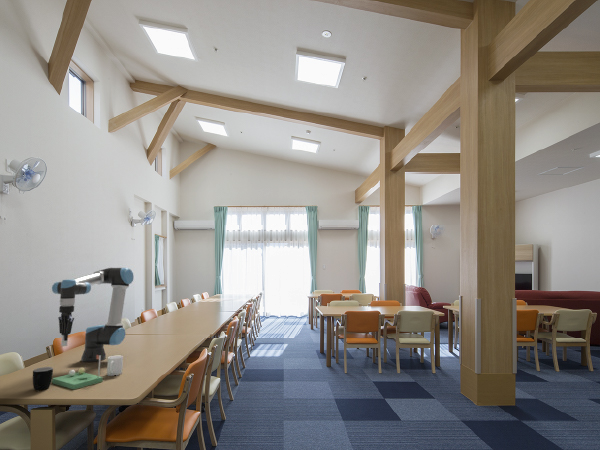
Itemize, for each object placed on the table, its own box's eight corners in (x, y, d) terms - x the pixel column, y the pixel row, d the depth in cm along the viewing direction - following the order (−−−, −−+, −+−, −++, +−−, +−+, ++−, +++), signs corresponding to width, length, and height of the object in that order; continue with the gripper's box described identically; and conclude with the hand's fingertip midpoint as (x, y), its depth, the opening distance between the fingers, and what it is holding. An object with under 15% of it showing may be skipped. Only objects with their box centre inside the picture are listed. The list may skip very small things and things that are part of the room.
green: (51, 383, 210) (53, 356, 212) (80, 375, 224) (82, 350, 226) (73, 389, 199) (75, 361, 201) (102, 381, 213) (103, 355, 215)
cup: (123, 371, 233) (124, 355, 234) (117, 377, 221) (118, 359, 222) (109, 372, 232) (110, 355, 233) (102, 378, 220) (103, 360, 221)
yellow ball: (76, 374, 219) (77, 368, 219) (82, 372, 222) (83, 366, 222) (80, 374, 217) (80, 368, 218) (85, 373, 220) (86, 367, 221)
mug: (35, 386, 204) (36, 367, 205) (54, 385, 206) (55, 366, 207) (26, 394, 192) (27, 373, 193) (46, 392, 195) (47, 372, 196)
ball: (67, 376, 214) (67, 370, 215) (73, 375, 217) (73, 368, 218) (70, 377, 213) (70, 371, 213) (76, 375, 216) (76, 369, 216)
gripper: (54, 305, 224) (51, 345, 222) (66, 306, 218) (63, 348, 215) (67, 304, 231) (64, 343, 228) (79, 305, 224) (76, 346, 222)
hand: (64, 345), depth 222 cm, fingers closed
